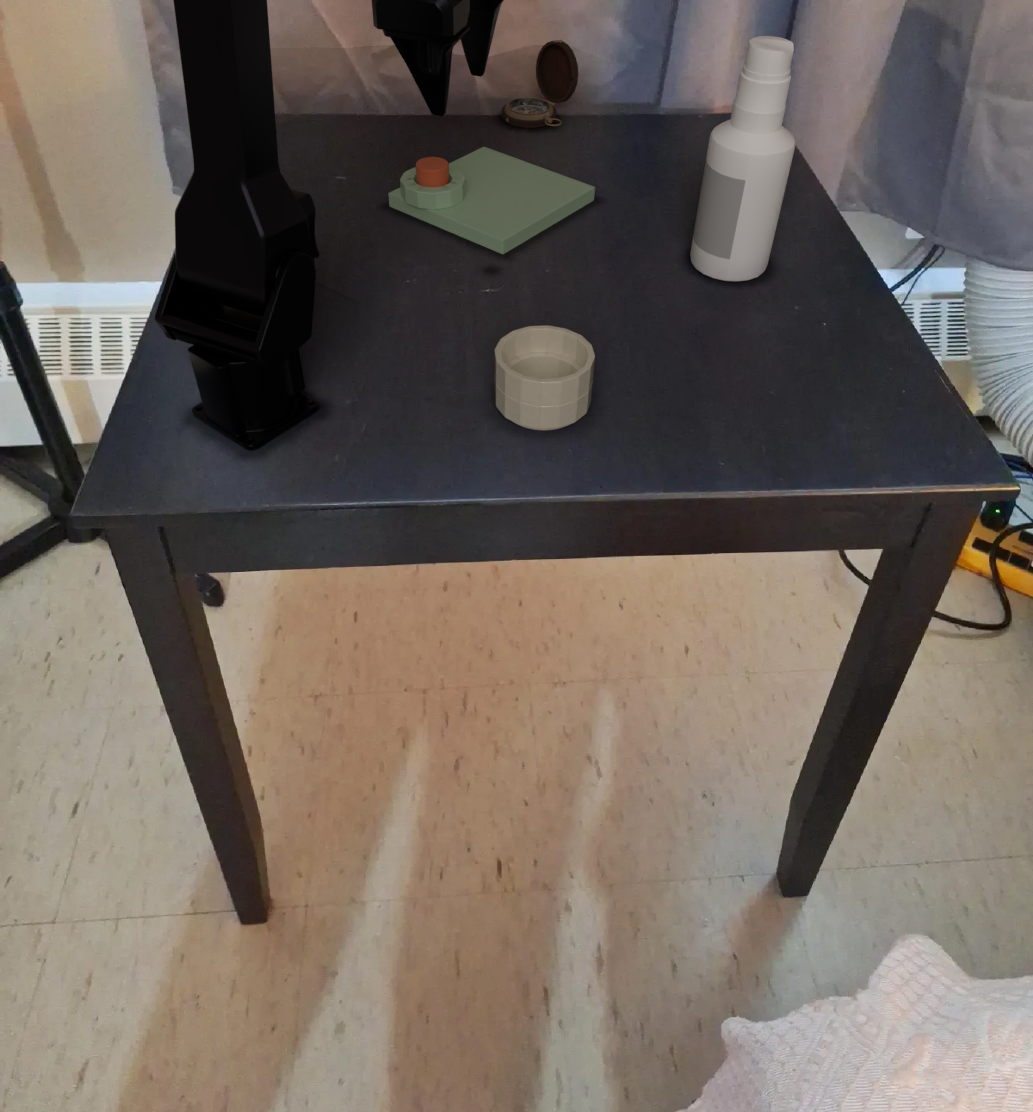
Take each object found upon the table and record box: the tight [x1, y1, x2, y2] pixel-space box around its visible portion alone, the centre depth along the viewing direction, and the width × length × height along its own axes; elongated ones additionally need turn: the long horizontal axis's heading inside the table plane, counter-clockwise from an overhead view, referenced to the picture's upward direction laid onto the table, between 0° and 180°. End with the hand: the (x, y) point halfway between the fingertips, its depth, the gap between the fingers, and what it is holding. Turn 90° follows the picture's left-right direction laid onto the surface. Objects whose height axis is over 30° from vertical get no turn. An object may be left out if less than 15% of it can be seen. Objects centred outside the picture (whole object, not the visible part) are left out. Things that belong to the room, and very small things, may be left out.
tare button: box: [415, 156, 449, 187], centre depth 87 cm, size 3×3×2 cm
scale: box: [388, 146, 596, 255], centre depth 89 cm, size 14×14×3 cm
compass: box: [501, 39, 579, 129], centre depth 102 cm, size 8×8×7 cm
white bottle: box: [689, 35, 796, 282], centre depth 77 cm, size 7×7×18 cm
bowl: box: [493, 324, 596, 431], centre depth 67 cm, size 7×7×4 cm
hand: (458, 94), depth 78 cm, fingers open, 9 cm apart
